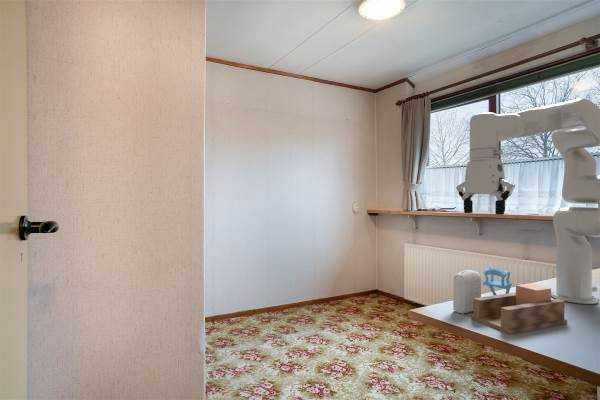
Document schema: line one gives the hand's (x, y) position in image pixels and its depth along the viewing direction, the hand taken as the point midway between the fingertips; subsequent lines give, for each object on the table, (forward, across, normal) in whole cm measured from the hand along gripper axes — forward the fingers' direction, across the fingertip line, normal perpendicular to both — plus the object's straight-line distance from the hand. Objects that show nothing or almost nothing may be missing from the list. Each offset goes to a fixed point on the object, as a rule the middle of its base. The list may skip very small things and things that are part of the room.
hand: (483, 213), depth 99 cm
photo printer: (+30, +5, 0) cm, 31 cm away
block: (+29, -9, -10) cm, 32 cm away
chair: (+30, +4, -14) cm, 33 cm away
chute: (+30, -8, -4) cm, 31 cm away
